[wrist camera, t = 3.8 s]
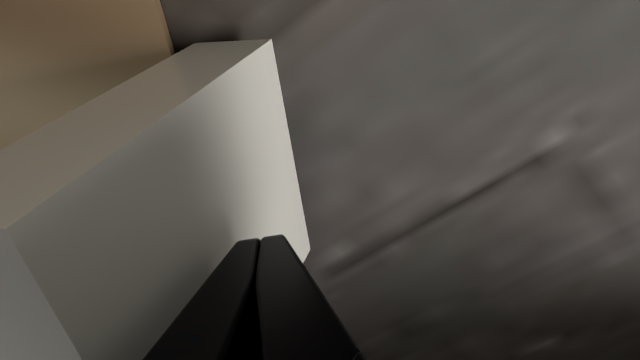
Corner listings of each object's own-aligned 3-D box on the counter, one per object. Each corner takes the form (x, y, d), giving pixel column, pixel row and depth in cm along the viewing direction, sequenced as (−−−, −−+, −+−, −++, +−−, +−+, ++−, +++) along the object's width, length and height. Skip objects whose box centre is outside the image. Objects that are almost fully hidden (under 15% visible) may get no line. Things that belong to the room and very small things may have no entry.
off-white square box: (310, 249, 14) (172, 513, 8) (244, 241, 14) (75, 479, 9) (271, 38, 10) (4, 229, 5) (189, 43, 11) (-124, 212, 6)
